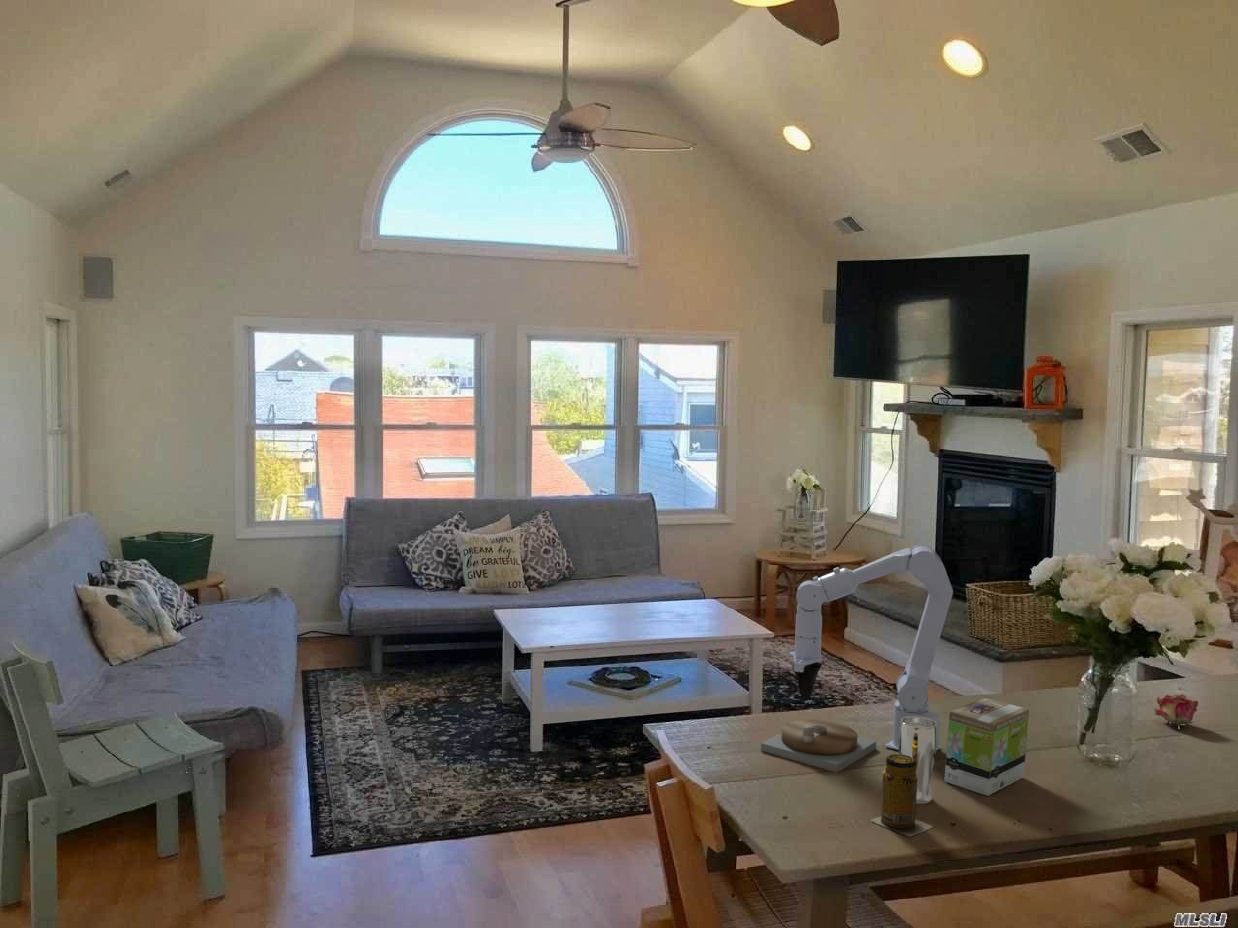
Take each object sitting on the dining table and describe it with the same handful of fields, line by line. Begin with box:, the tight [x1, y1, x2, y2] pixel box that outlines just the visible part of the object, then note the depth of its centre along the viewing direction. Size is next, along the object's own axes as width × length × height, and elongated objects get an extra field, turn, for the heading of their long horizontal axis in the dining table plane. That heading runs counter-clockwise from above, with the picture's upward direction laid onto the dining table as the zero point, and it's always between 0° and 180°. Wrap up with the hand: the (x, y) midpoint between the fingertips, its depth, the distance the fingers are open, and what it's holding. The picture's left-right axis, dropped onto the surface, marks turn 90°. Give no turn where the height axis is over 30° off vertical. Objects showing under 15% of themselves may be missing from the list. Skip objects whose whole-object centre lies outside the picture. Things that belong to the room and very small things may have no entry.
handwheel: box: [781, 719, 859, 755], centre depth 222 cm, size 16×16×5 cm
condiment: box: [870, 753, 934, 837], centre depth 186 cm, size 7×8×12 cm
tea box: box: [943, 697, 1030, 797], centre depth 207 cm, size 15×10×15 cm, turn 134°
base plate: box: [760, 732, 877, 774], centre depth 222 cm, size 18×18×2 cm
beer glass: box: [898, 716, 937, 805], centre depth 197 cm, size 7×7×15 cm
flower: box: [1153, 694, 1199, 727], centre depth 242 cm, size 10×9×8 cm
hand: (805, 695), depth 229 cm, fingers closed
